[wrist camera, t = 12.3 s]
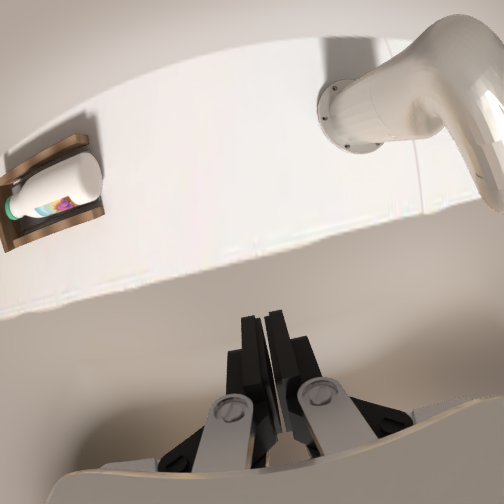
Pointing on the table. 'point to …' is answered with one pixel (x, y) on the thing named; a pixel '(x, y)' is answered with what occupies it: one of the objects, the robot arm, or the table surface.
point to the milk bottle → (57, 188)
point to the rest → (14, 229)
